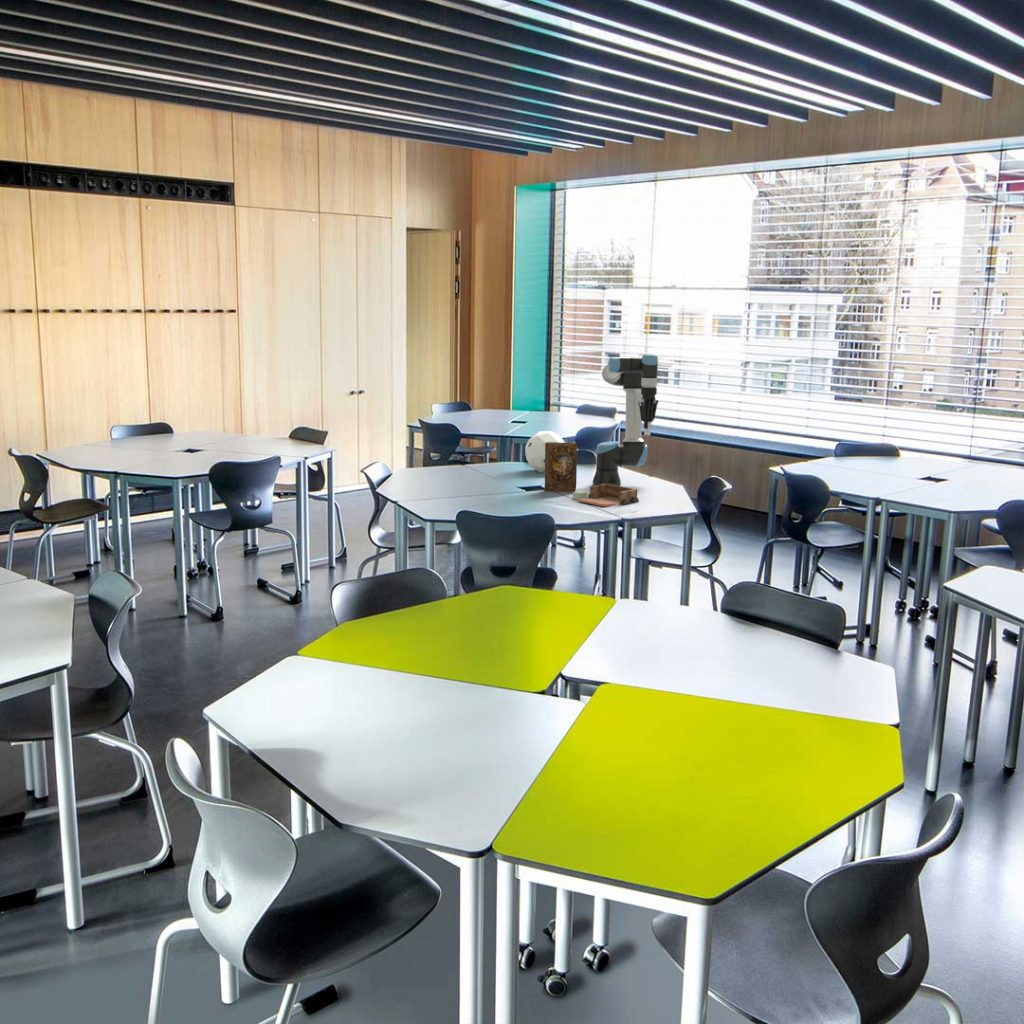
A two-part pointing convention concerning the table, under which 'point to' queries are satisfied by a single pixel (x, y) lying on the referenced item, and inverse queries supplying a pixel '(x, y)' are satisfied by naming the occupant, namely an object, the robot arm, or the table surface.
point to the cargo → (579, 495)
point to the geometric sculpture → (539, 448)
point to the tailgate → (597, 502)
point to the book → (560, 467)
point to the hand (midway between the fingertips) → (647, 435)
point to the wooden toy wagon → (614, 494)
